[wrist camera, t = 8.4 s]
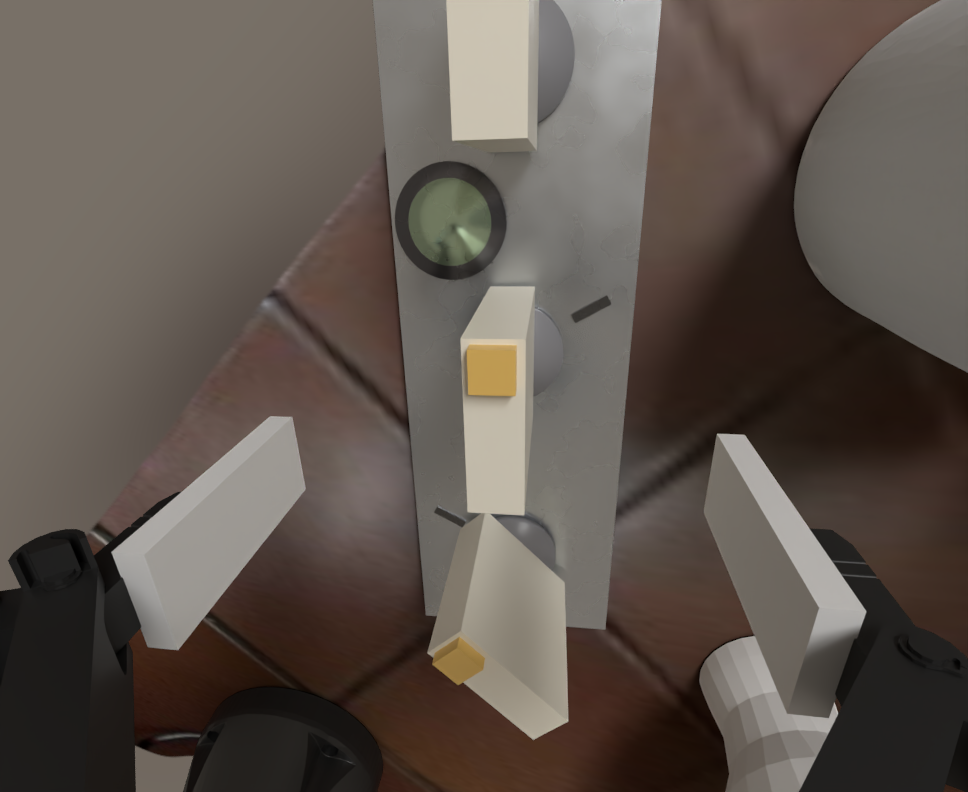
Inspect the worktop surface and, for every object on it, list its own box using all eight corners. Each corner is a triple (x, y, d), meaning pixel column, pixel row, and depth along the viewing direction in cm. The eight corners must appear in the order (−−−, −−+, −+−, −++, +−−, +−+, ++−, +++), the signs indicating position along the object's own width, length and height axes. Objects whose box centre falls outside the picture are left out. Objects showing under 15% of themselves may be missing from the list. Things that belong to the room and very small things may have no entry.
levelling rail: (428, 606, 36) (423, 622, 35) (370, -95, 22) (358, -112, 20) (604, 620, 35) (606, 636, 34) (669, -122, 20) (676, -142, 19)
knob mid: (466, 410, 29) (426, 519, 20) (461, 284, 26) (412, 343, 17) (560, 413, 29) (564, 527, 19) (565, 284, 26) (572, 345, 17)
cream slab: (456, 154, 24) (396, 141, 15) (449, -34, 21) (370, -192, 12) (570, 150, 24) (581, 134, 14) (577, -44, 21) (596, -218, 12)
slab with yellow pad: (521, 604, 34) (509, 764, 25) (445, 537, 33) (402, 678, 24) (583, 564, 32) (594, 721, 23) (504, 491, 31) (483, 625, 22)
